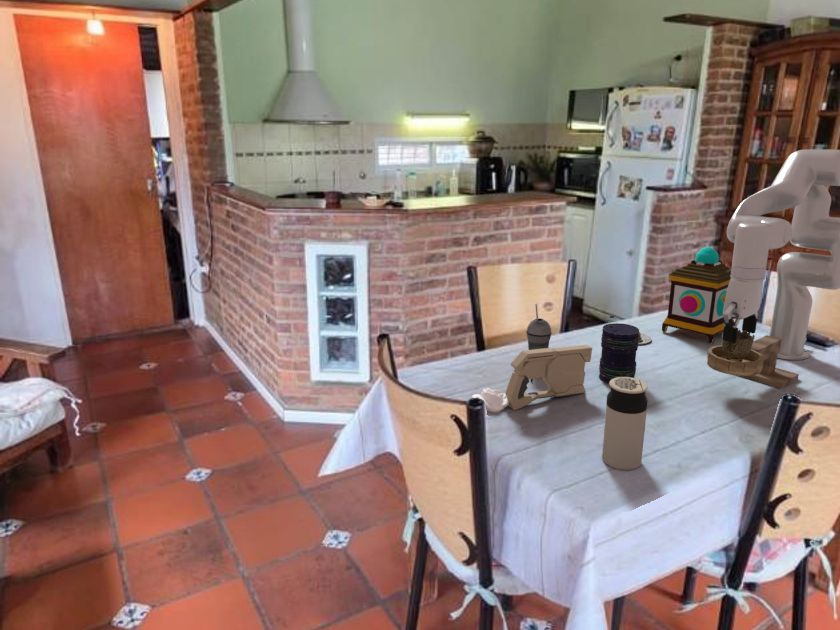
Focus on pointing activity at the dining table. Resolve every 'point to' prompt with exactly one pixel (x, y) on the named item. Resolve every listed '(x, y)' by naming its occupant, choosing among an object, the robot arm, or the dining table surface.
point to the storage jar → (618, 351)
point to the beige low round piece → (645, 337)
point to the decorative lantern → (699, 295)
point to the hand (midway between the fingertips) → (739, 336)
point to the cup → (738, 346)
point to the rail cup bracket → (754, 363)
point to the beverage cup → (538, 333)
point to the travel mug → (625, 423)
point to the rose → (493, 399)
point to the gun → (548, 373)
